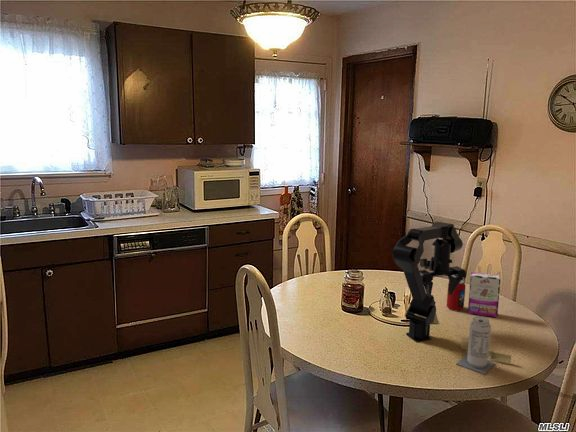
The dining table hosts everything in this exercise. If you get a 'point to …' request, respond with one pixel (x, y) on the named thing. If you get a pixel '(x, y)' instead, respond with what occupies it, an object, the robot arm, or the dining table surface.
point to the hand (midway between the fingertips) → (439, 296)
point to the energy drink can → (479, 342)
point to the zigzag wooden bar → (491, 354)
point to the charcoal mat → (484, 370)
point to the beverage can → (456, 297)
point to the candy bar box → (484, 294)
